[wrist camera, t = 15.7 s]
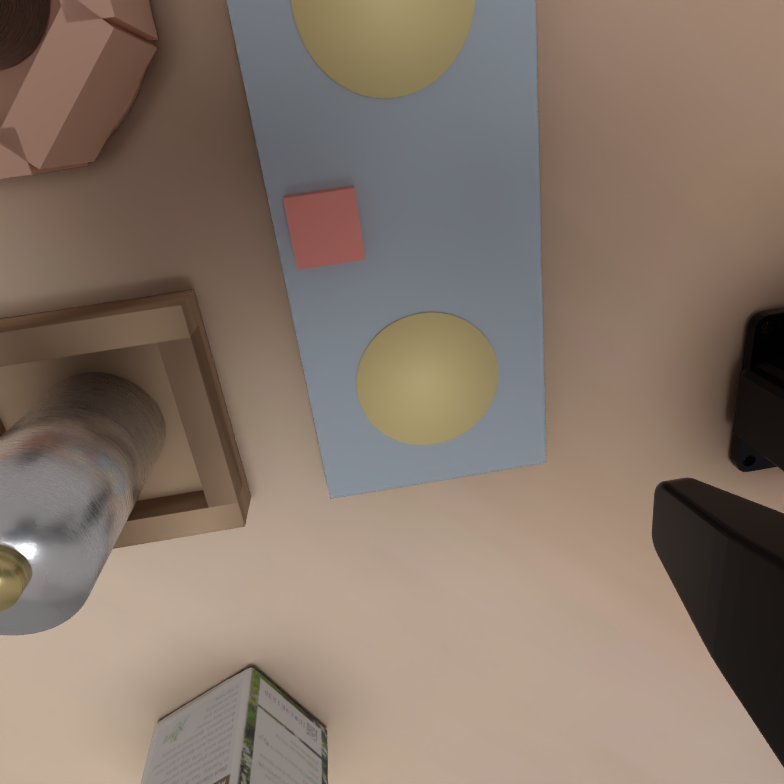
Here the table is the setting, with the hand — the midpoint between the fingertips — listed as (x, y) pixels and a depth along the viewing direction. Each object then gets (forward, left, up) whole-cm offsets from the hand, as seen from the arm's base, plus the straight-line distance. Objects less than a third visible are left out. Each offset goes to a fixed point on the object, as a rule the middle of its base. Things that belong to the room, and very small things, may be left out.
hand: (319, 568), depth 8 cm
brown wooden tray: (+8, +3, -13) cm, 16 cm away
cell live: (+8, +3, -12) cm, 15 cm away
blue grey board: (-3, -2, -13) cm, 13 cm away
